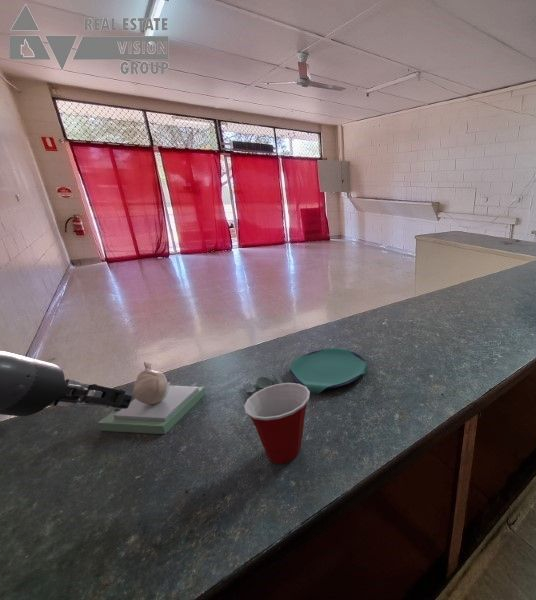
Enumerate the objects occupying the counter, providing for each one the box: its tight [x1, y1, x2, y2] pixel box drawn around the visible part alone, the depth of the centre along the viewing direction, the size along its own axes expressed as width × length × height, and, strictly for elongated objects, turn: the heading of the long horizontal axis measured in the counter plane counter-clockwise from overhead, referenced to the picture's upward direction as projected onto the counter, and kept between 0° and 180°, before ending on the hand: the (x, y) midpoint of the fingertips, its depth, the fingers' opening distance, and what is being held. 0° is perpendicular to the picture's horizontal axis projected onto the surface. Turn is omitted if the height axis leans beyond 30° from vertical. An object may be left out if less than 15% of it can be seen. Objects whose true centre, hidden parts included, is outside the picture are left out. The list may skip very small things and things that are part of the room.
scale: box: [97, 384, 207, 435], centre depth 68 cm, size 13×13×3 cm
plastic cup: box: [243, 382, 311, 465], centre depth 57 cm, size 11×11×12 cm
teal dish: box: [242, 347, 369, 397], centre depth 81 cm, size 20×30×2 cm, turn 130°
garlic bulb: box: [132, 361, 171, 404], centre depth 66 cm, size 7×6×8 cm
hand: (104, 401), depth 56 cm, fingers open, 8 cm apart
